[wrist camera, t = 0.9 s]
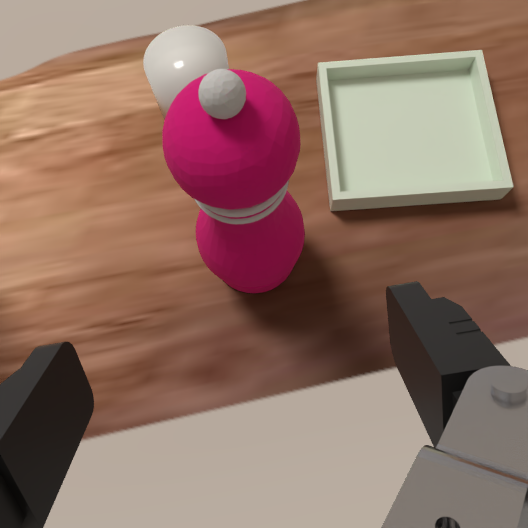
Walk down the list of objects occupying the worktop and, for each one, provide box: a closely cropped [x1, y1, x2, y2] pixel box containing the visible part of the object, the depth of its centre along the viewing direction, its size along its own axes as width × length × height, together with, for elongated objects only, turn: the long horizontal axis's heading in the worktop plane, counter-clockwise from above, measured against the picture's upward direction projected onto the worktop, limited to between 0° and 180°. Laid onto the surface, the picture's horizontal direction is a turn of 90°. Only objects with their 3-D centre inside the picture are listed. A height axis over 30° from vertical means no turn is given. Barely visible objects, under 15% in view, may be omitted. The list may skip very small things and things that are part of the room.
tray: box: [317, 50, 513, 211], centre depth 37 cm, size 13×12×2 cm
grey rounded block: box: [144, 25, 229, 120], centre depth 37 cm, size 6×6×6 cm
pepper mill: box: [163, 69, 305, 293], centre depth 27 cm, size 7×7×20 cm
